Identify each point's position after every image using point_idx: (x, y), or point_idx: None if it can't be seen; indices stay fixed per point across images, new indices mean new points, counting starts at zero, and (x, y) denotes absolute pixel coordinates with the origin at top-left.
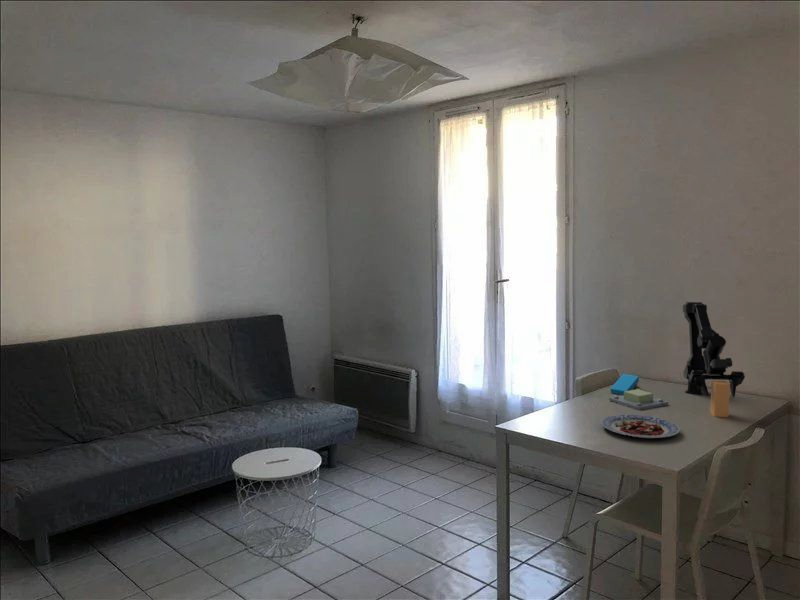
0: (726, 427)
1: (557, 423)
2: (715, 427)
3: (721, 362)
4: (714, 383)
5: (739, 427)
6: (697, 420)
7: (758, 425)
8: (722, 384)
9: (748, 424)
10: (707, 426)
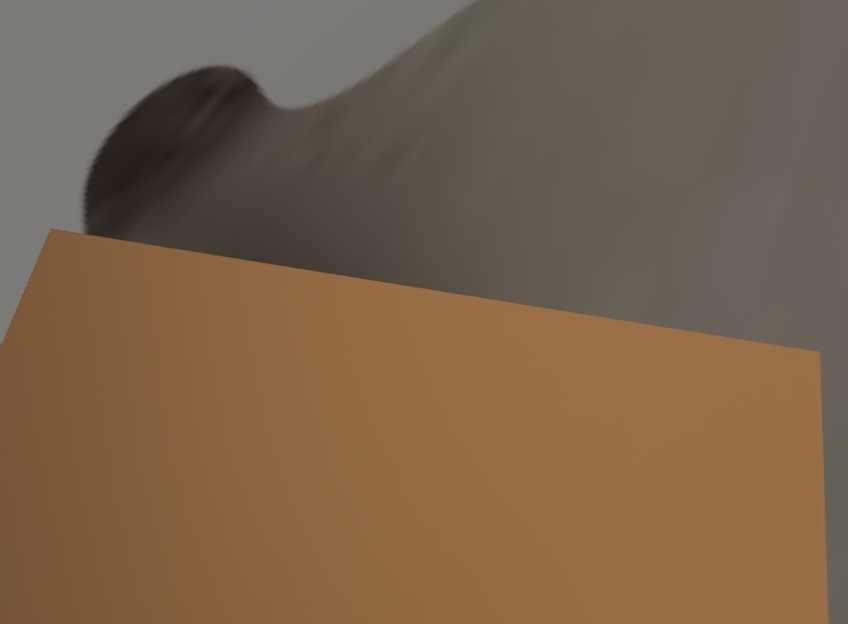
0: (576, 64)
1: None
2: (697, 66)
3: None
4: (810, 618)
5: (435, 61)
6: (832, 314)
7: (185, 115)
8: (441, 292)
9: (272, 149)
10: (775, 98)
